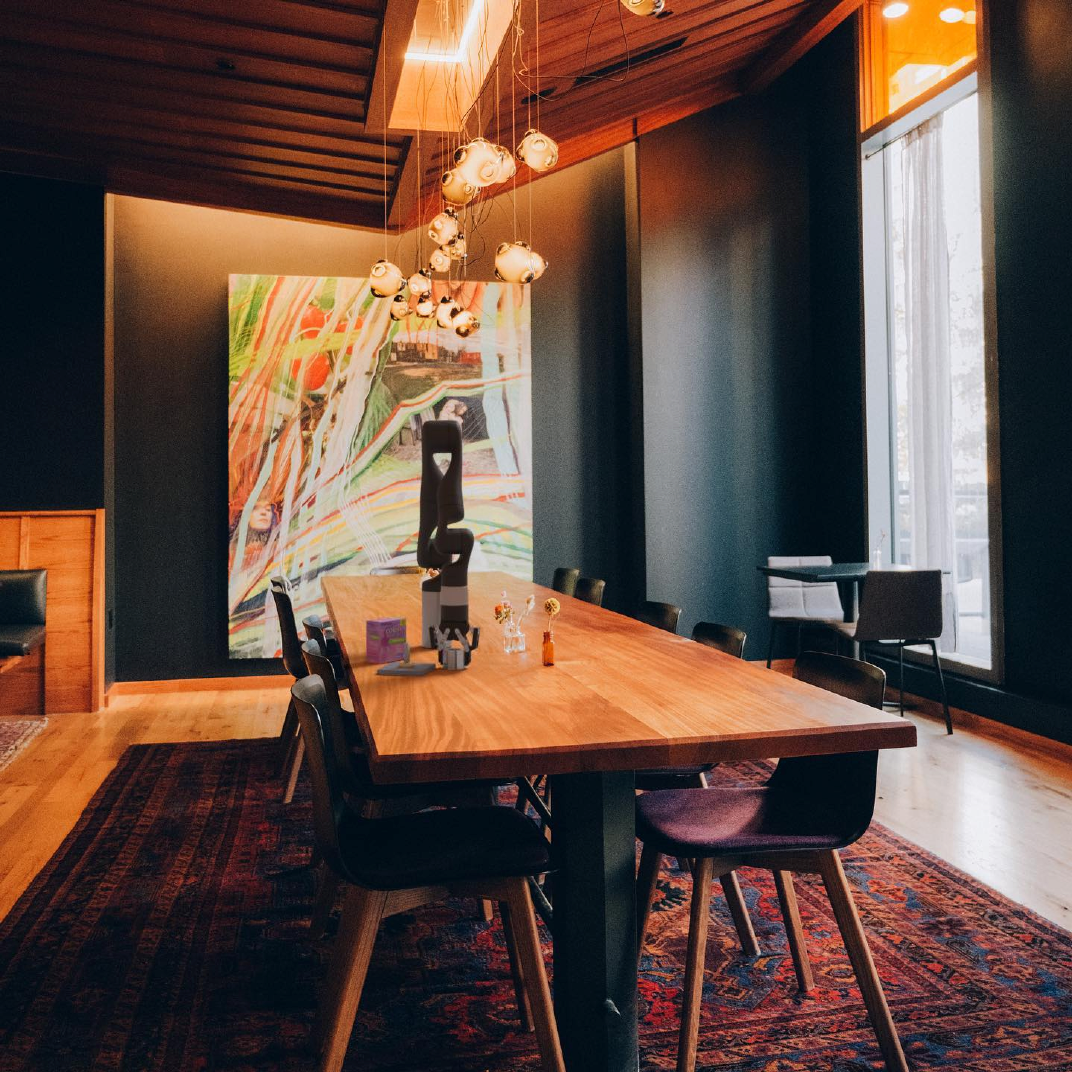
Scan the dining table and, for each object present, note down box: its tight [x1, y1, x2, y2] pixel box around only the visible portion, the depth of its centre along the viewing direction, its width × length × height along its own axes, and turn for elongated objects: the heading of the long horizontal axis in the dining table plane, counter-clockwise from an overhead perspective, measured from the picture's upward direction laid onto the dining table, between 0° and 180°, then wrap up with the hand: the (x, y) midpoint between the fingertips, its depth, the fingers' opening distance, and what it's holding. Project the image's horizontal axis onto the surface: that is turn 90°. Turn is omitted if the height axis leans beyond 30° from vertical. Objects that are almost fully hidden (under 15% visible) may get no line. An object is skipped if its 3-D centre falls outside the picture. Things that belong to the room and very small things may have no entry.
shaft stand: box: [376, 642, 437, 677], centre depth 244 cm, size 12×12×7 cm
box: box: [365, 616, 407, 665], centre depth 260 cm, size 10×6×12 cm, turn 143°
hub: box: [442, 647, 468, 671], centre depth 249 cm, size 6×6×5 cm
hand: (454, 664), depth 249 cm, fingers closed on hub, 6 cm apart
